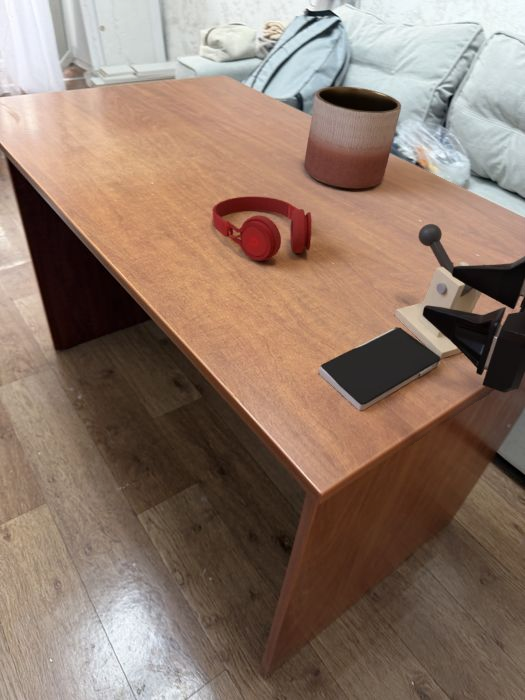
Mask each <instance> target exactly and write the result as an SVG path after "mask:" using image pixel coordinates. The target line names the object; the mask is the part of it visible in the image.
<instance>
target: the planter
mask: <svg viewBox="0 0 525 700" xmlns="http://www.w3.org/2000/svg"><path fill="white" fill-rule="evenodd" d="M401 110H402V104H401V102H400V101H399V100H398V99H396V98H395V97H393V96H391V95H388V94H386V93H383V92H381V91H376V90H372V89H368V88H362V87H354V86H344V85H343V86H341V85H340V86H327V87H322V88H320V89H318V90H316V92H315V94H314V99H313V107H312V114H311V120H310V124H309V130H308V131H309V132H308V137H307V142H306V143H307V144H306V149H305V155H304V165H303V166H304V169H305V171H306V172H307V174H308V175H309V176H310V177H312V178H313V179H314V180H316V181H317V182H319V183H321V184H324V185H327V186H330V187H334V188H339V189H346V190H362V189H369V188H372V187H374V186H377V185H378V184H380V183H381V182H382V181H383V180H384V177H385V173H386V170H387V166H388V162H389V158H390V154H391V150H392V146H393V141H394V138H395V134H396V130H397V126H398V122H399V117H400V114H401Z"/></svg>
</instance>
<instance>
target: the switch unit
mask: <svg viewBox="0 0 525 700" xmlns="http://www.w3.org/2000/svg"><path fill="white" fill-rule="evenodd" d="M457 266H471V265H470V264H469V263H467V261H460V262H459V263H458V265H457ZM464 286H465V284H464V283H463V282H461V281H459V280H458V279H456V278H454V277H453V276H452V274H451V273H450V272H449V271H447V270H446V269H445V268H444V267H441V266H438V267H436V269H435V271H434V273H433V276H432V278H431V281H430V284H429V287H428V289H427V292H426V294H425V297H424V300H423V302H419V303H416V304H412V305H408V306H403V307H400V308H396V310H395V313H394V316H395V318H397V320H398V321H399V322H401V323H402V324H403V326H405V327H406V328H407V329H408V330H409V331H410V333H412V334H413V335H414V336H415V337H416V339H417V340H418V341H419V342H420V343H422V344H423V345H425V346H426V347H427V348H429V349H430V350H431V351H433V352H434V353H435V354H437V355H438V356H439V357H440V360H441V359H445V358H448V357H451V356H455V355H458V354H460V353H462V352H461V351H460V350H459V349H458V348H457V347H456V346H455V345H454V344H453V343H452V342H451V341H450V340H449V339H448V338H447V337H446V336H444V335H443V334H442V333H441V332H440V331H439V330H438V329H437V328H436V327H434V326H433V325H432V324H431V323H430V322H429V321H428V320H427V319H426V318H424V317H423V309H424V307H425V306H426V305H429V306H437V307H443V308H449V309H454V310H459V311H464V312H469V313H473V311H474V310H475V308H476V305H477V303H478V301H479V299H480V297H481V294H482V293H481V292H479V291H477V290H475V289H474V288H473V289H471V290H470V291H469V292H468V293H466V294H465V295H464V296H462V297H460V295H461V293H462V291H463V288H464Z"/></svg>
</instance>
